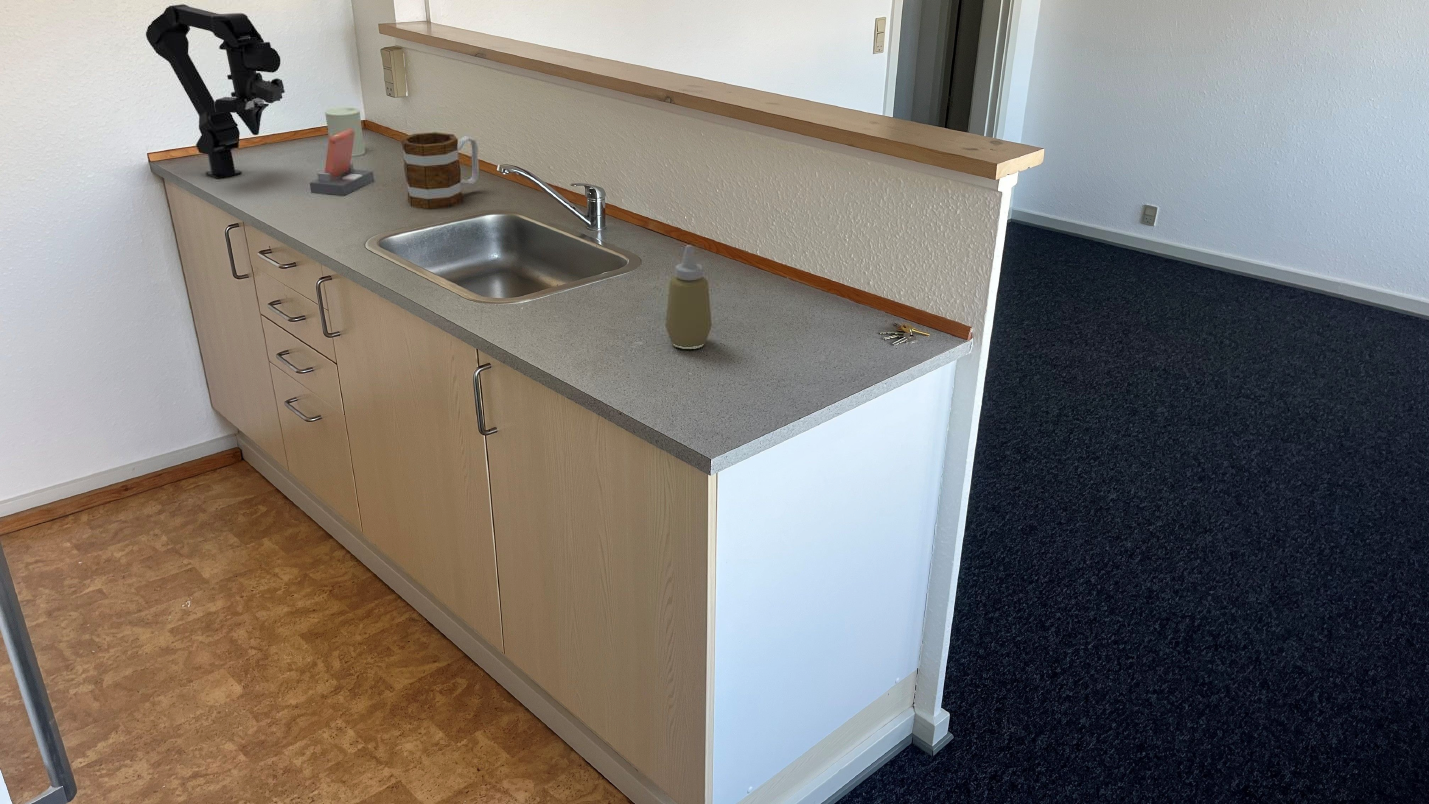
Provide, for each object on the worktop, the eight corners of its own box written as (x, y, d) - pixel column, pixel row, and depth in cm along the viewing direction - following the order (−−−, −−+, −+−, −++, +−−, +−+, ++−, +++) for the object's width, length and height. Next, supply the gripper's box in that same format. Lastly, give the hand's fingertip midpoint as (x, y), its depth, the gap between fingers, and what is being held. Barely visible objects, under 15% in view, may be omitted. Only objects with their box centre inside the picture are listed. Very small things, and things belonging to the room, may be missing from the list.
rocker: (324, 175, 260) (329, 135, 255) (342, 167, 267) (347, 127, 262) (331, 179, 260) (337, 138, 255) (349, 170, 267) (355, 130, 262)
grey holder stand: (311, 192, 260) (308, 174, 258) (342, 177, 272) (340, 160, 270) (343, 195, 258) (341, 177, 256) (374, 180, 270) (371, 163, 268)
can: (372, 152, 295) (366, 108, 289) (346, 159, 288) (339, 114, 282) (350, 147, 299) (344, 104, 294) (323, 153, 292) (316, 110, 287)
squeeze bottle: (664, 335, 188) (664, 238, 180) (709, 334, 189) (711, 238, 180) (666, 354, 181) (666, 254, 173) (713, 353, 182) (715, 254, 173)
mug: (426, 213, 248) (418, 149, 241) (396, 200, 256) (388, 138, 249) (496, 196, 260) (491, 135, 253) (465, 185, 268) (460, 125, 261)
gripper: (247, 77, 244) (261, 145, 251) (295, 64, 260) (306, 128, 267) (206, 75, 247) (220, 142, 254) (255, 62, 263) (268, 126, 270)
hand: (255, 134), depth 261 cm, fingers closed
